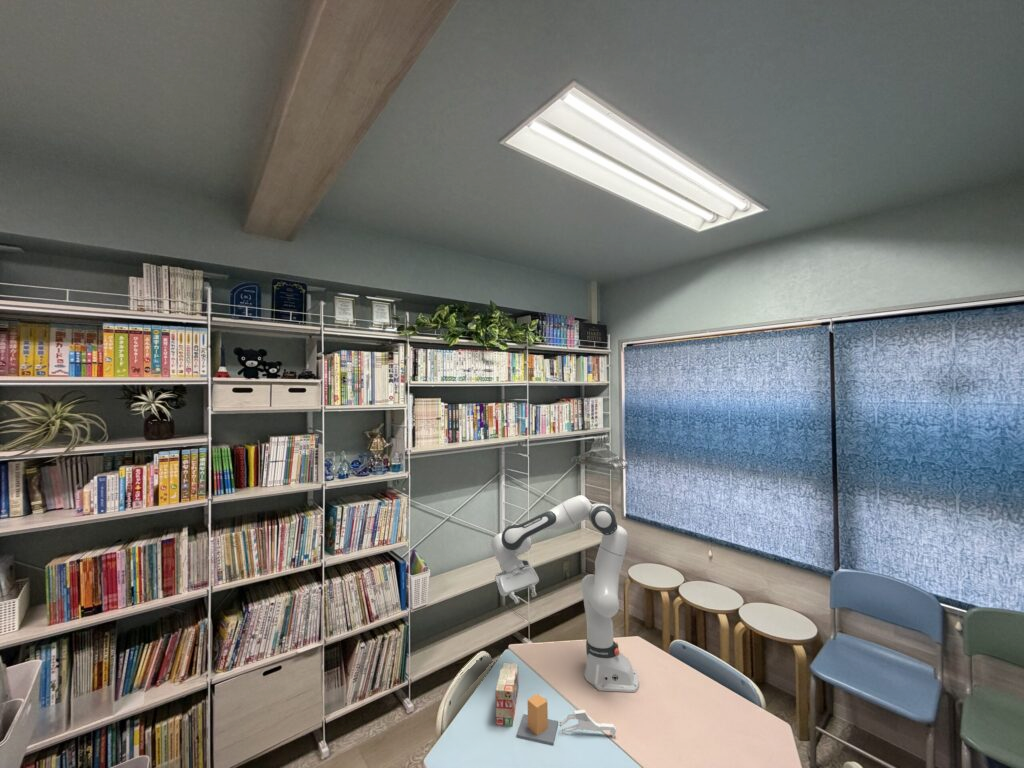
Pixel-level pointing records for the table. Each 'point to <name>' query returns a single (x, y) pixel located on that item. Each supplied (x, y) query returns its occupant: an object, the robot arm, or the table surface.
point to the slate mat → (543, 737)
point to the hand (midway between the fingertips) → (526, 599)
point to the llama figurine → (586, 723)
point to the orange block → (537, 714)
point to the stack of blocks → (506, 695)
